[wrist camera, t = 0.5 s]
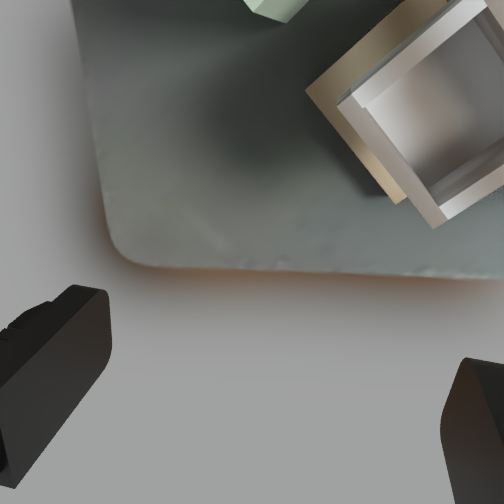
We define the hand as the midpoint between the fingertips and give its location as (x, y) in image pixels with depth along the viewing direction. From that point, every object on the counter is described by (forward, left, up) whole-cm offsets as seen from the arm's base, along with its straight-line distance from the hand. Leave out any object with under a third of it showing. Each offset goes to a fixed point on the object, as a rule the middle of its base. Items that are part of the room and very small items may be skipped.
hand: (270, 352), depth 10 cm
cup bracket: (-8, +1, -25) cm, 26 cm away
